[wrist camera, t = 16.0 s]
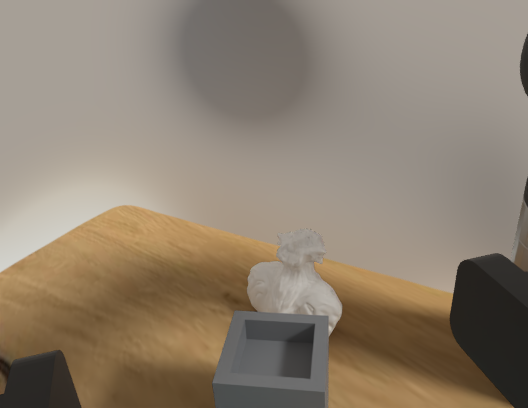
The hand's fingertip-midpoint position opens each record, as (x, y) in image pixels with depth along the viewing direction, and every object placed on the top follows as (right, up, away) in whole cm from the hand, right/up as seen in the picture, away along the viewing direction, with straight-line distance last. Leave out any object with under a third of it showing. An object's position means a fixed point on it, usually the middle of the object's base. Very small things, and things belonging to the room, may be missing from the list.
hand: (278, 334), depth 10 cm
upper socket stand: (+1, -17, +30) cm, 35 cm away
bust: (+3, -10, +44) cm, 45 cm away
